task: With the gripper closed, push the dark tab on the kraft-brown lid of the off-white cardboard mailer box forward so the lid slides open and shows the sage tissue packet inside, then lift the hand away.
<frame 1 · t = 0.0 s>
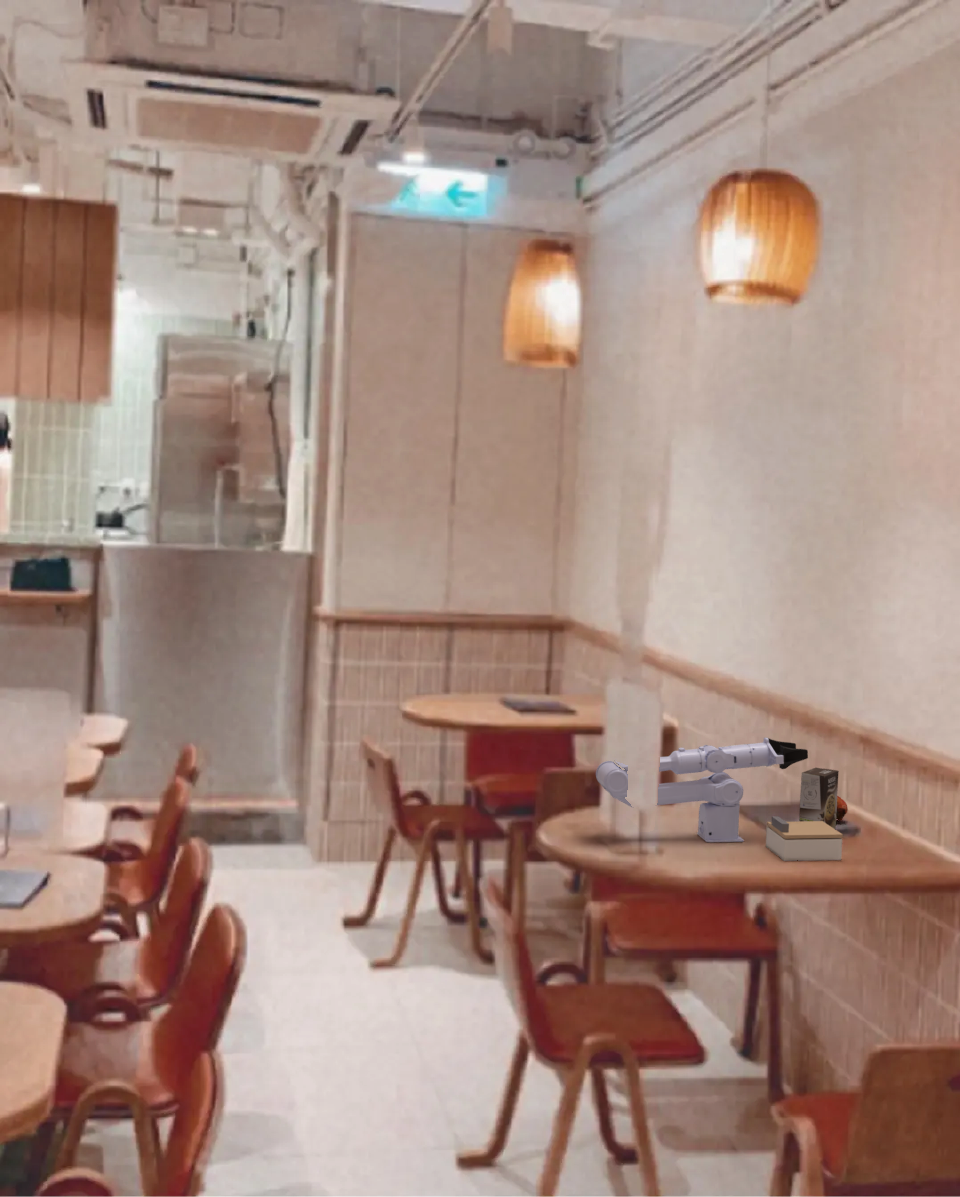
hand: (801, 750, 337), 22 cm above the table, tool horizontal, fingers open, 7 cm apart
coffee box: (817, 835, 342), on the table
pomegranate: (832, 822, 355), on the table
mailer lid: (804, 825, 324), point 7 cm above the table, slide at 0.0 cm
mailer base: (802, 853, 325), on the table
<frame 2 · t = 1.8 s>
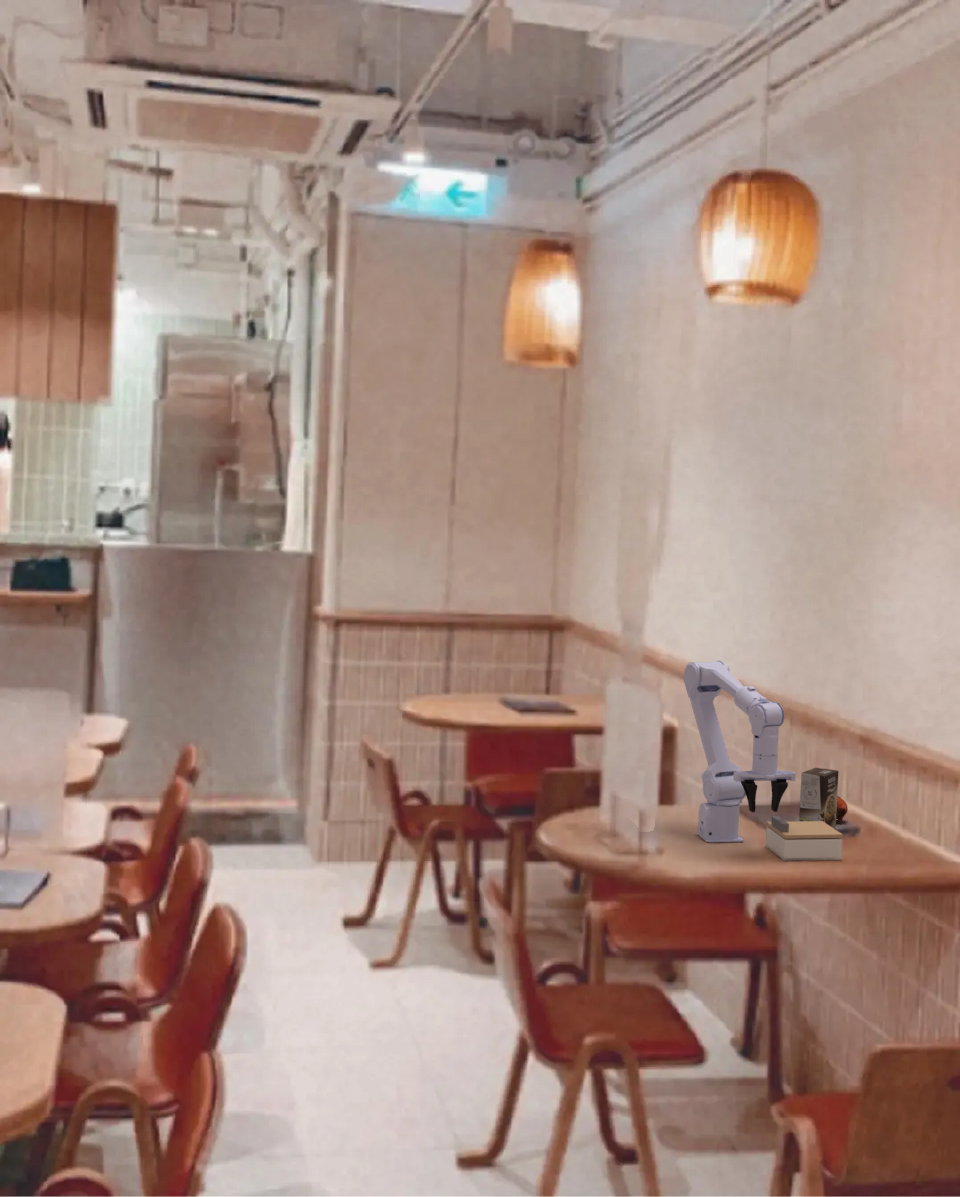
hand: (763, 811, 322), 10 cm above the table, tool pointing down, fingers open, 5 cm apart
nothing on the table moved.
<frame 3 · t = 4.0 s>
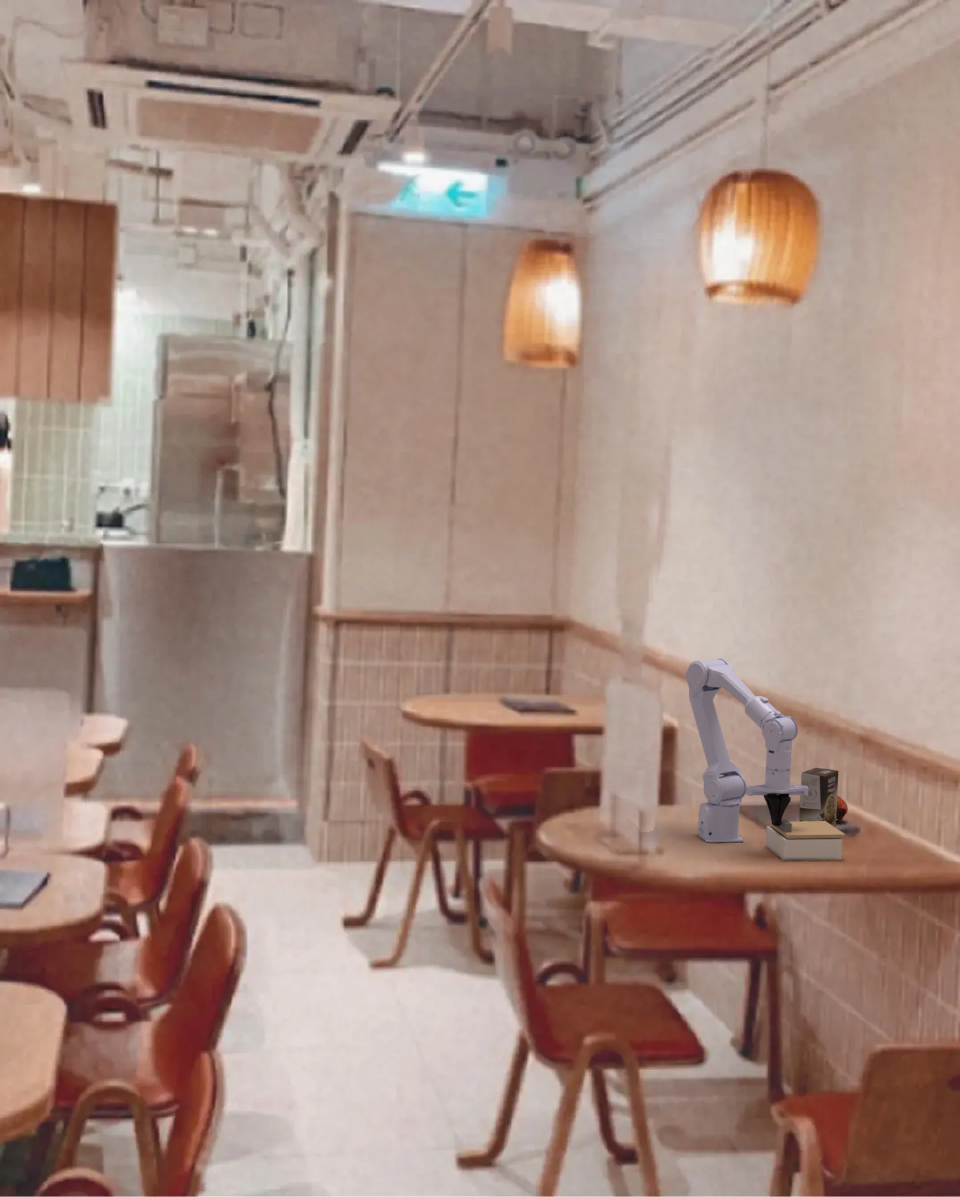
hand: (775, 825, 323), 7 cm above the table, tool pointing down, fingers closed
mailer lid: (807, 825, 324), point 7 cm above the table, slide at 0.7 cm, touching gripper
everything else where it was.
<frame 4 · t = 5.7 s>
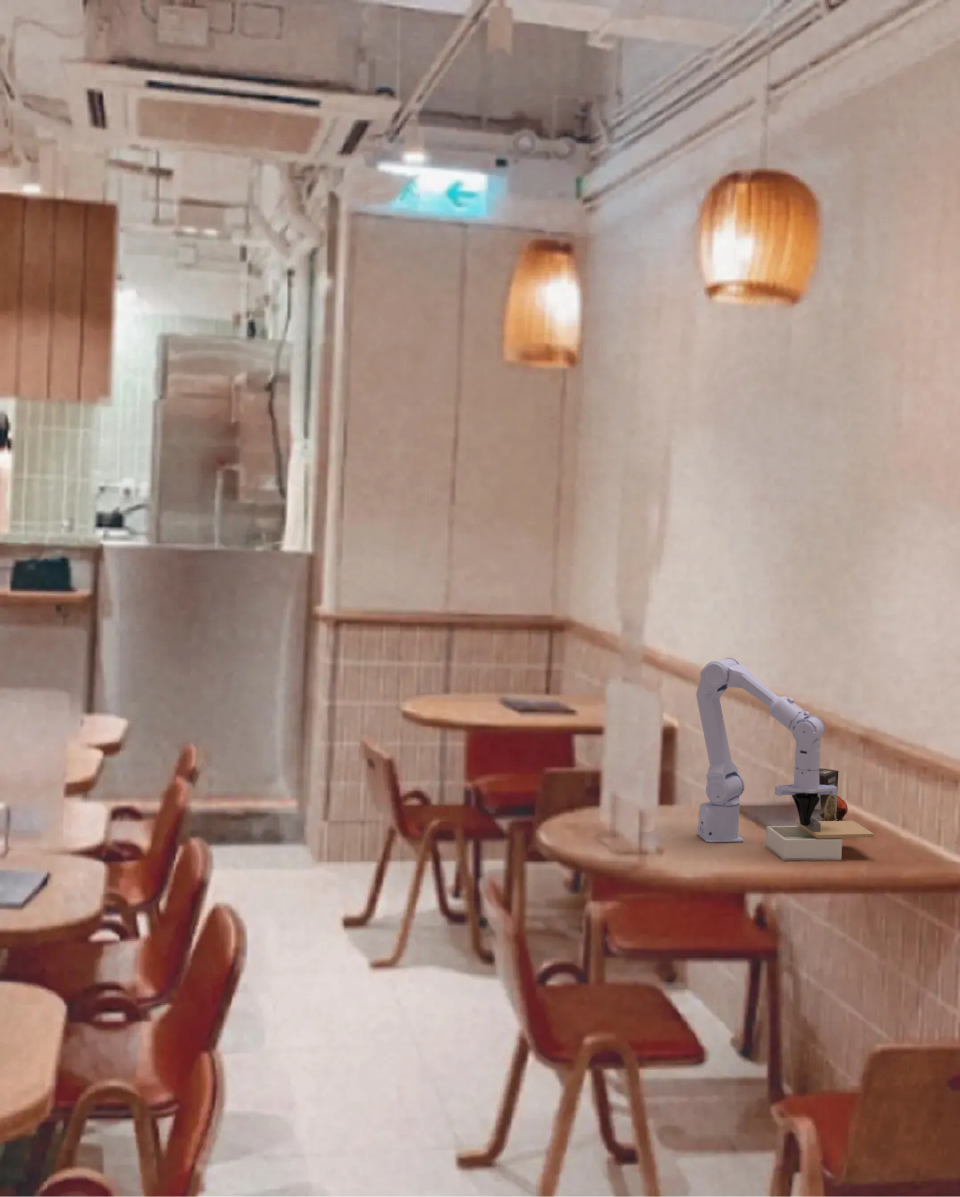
hand: (804, 824, 324), 7 cm above the table, tool pointing down, fingers closed
mailer lid: (835, 825, 325), point 7 cm above the table, slide at 7.8 cm, touching gripper
everything else where it was.
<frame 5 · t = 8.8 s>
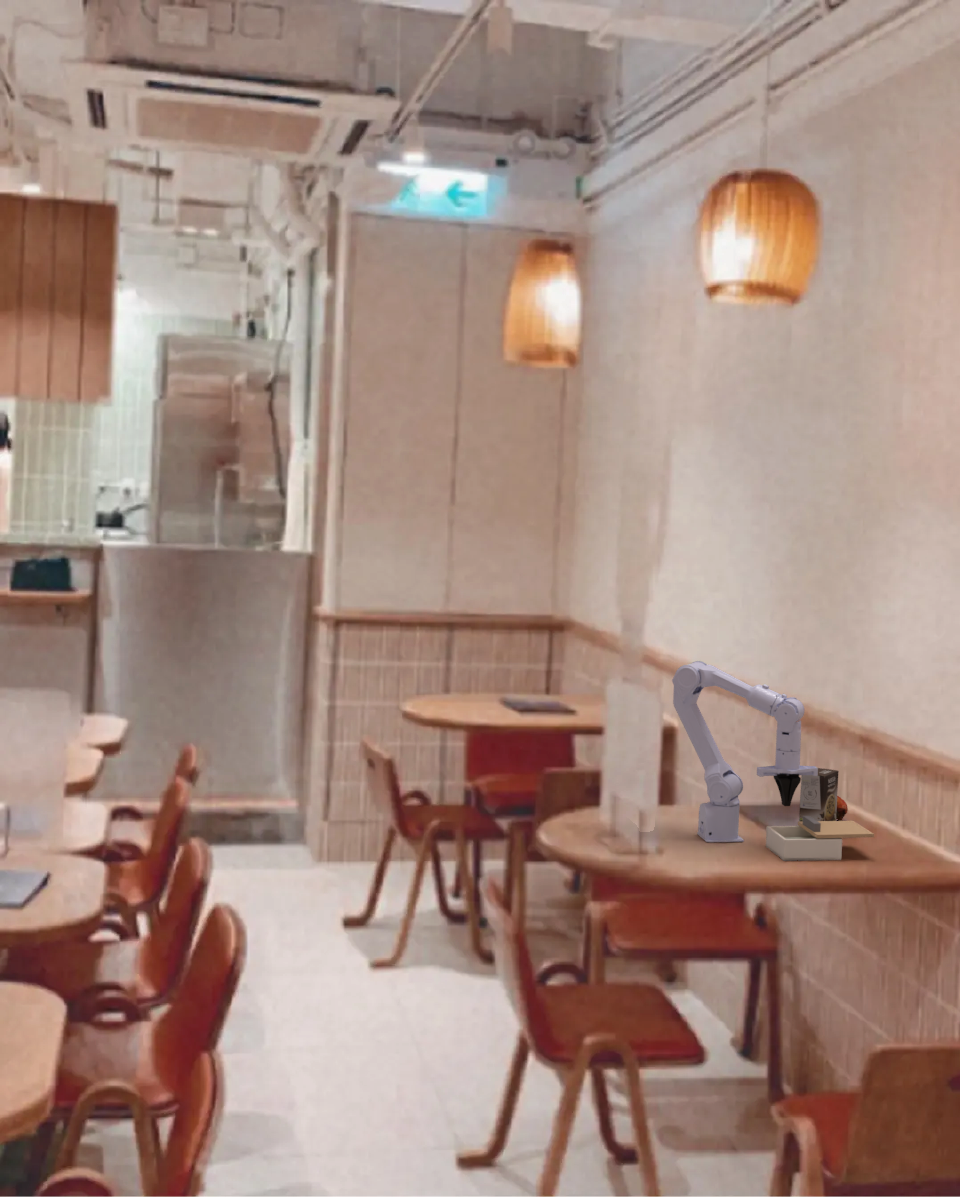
hand: (786, 805, 328), 10 cm above the table, tool pointing down, fingers closed
mailer lid: (835, 825, 325), point 7 cm above the table, slide at 7.8 cm
everything else where it was.
at the end: mailer lid slide at 7.8 cm; coffee box moved 0.2 cm from its start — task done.
